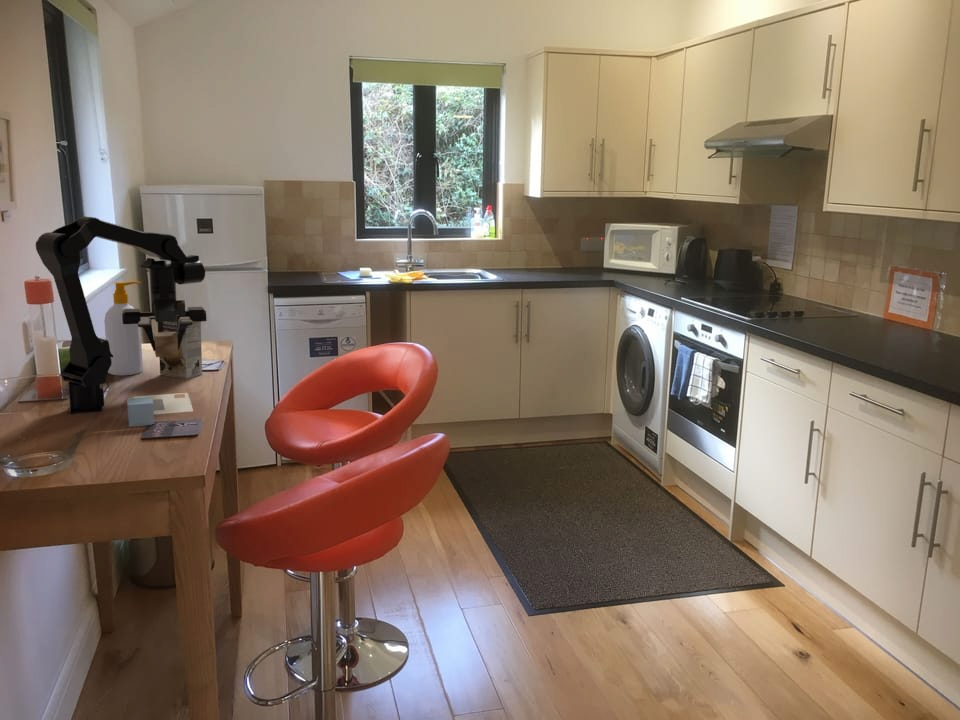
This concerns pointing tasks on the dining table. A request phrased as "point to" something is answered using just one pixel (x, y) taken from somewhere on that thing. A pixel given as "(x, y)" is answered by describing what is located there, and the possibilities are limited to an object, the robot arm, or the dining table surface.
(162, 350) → the walnut block
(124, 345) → the soap bottle
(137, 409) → the blue cube
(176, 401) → the letter
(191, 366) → the coffee box
